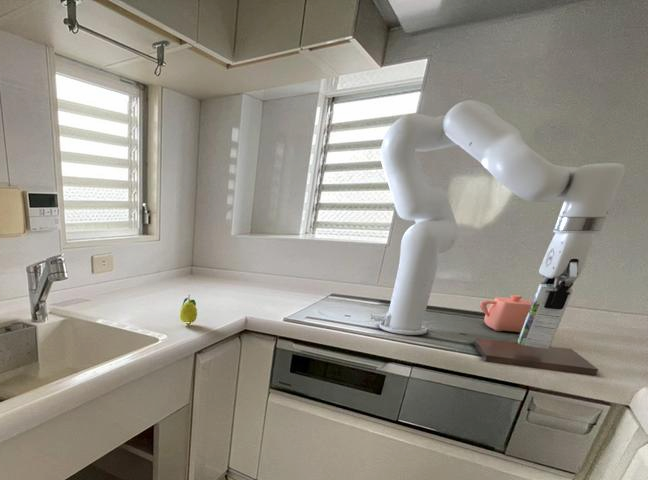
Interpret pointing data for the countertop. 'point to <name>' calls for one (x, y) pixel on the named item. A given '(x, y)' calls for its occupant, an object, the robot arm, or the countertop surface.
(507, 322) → the teapot
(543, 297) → the syrup box
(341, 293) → the countertop surface
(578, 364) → the cutting board
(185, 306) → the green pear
